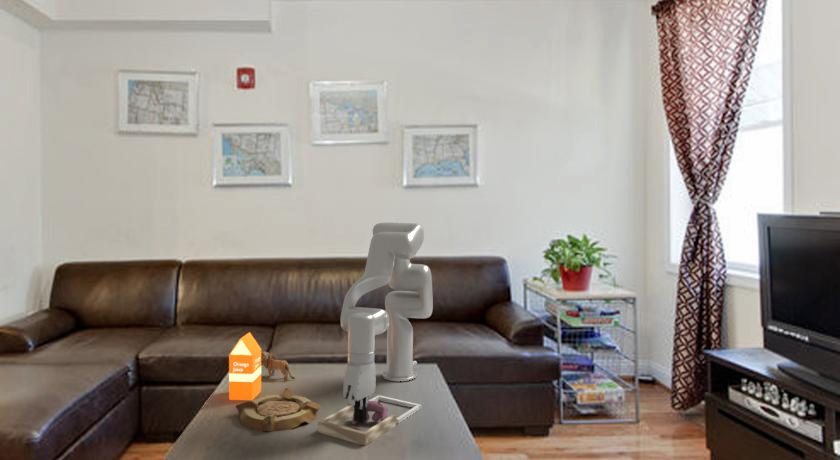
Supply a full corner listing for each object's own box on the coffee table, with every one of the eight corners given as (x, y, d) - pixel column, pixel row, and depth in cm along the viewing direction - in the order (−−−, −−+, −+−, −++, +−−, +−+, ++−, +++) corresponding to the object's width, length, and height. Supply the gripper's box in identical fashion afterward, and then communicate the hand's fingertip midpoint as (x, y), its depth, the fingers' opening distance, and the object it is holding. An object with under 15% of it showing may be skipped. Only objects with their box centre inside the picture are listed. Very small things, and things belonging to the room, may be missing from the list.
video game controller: (387, 427, 158) (389, 402, 161) (384, 426, 154) (386, 400, 157) (354, 425, 160) (357, 400, 162) (350, 423, 155) (353, 398, 158)
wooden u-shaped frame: (351, 413, 164) (351, 404, 164) (396, 425, 156) (396, 415, 156) (317, 432, 151) (318, 421, 151) (365, 445, 143) (365, 434, 143)
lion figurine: (255, 377, 197) (255, 353, 196) (264, 373, 202) (264, 349, 201) (291, 382, 192) (291, 357, 191) (299, 378, 197) (299, 353, 196)
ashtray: (234, 406, 169) (234, 391, 169) (311, 398, 178) (311, 383, 177) (237, 438, 147) (237, 420, 147) (325, 426, 155) (325, 409, 155)
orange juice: (261, 390, 183) (261, 332, 182) (252, 400, 174) (252, 338, 173) (238, 390, 183) (238, 331, 182) (228, 399, 174) (228, 338, 173)
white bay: (378, 398, 177) (378, 395, 177) (421, 408, 169) (421, 404, 169) (353, 412, 165) (353, 408, 165) (398, 423, 157) (398, 419, 157)
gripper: (365, 349, 162) (364, 410, 163) (333, 361, 149) (333, 427, 150) (386, 353, 158) (385, 415, 159) (356, 365, 145) (355, 433, 146)
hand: (360, 421), depth 154 cm, fingers closed
